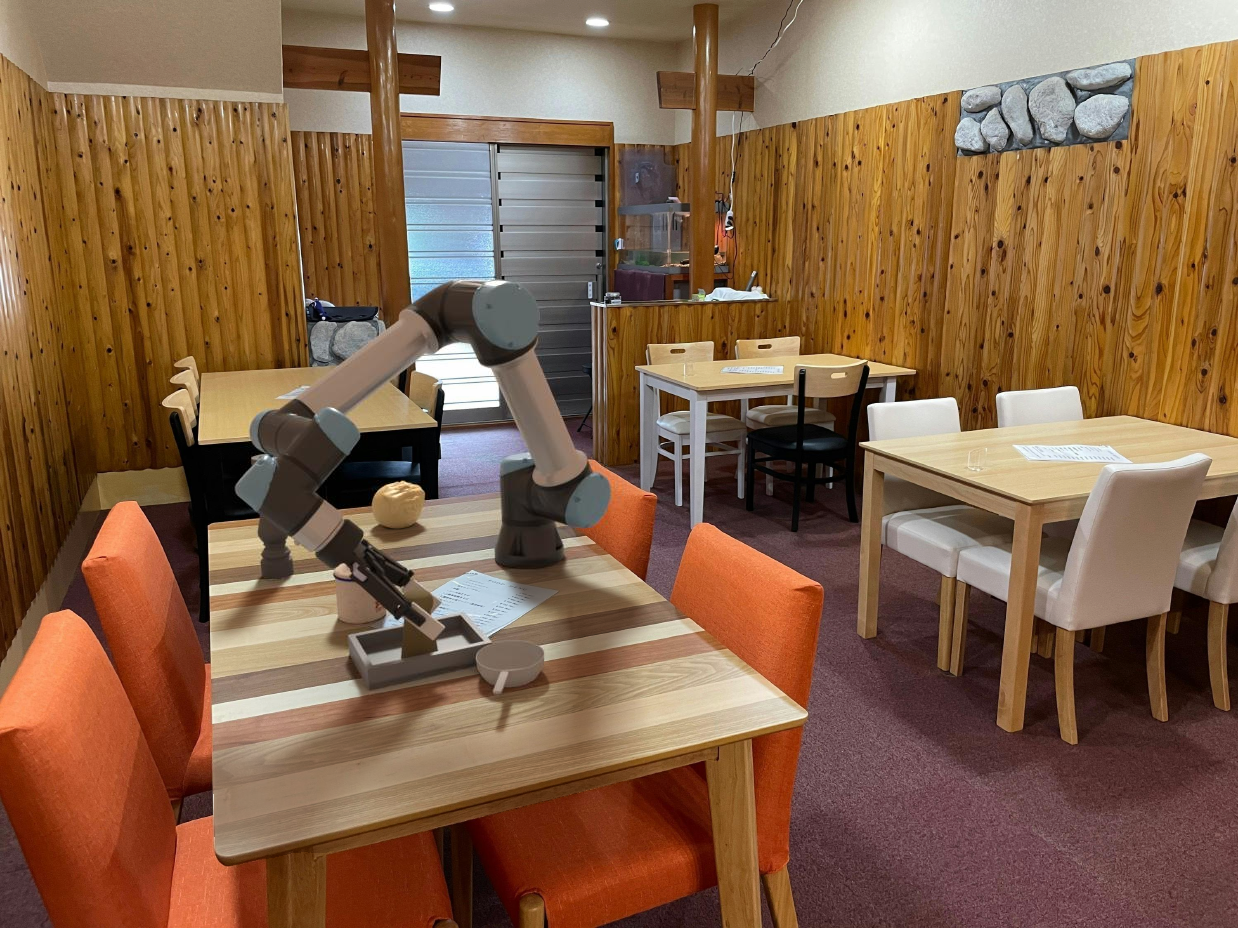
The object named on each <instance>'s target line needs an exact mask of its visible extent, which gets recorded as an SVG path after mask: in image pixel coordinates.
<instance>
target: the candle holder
mask: <svg viewBox="0 0 1238 928" xmlns="http://www.w3.org/2000/svg"><path fill="white" fill-rule="evenodd" d="M263 455H268V454H266V453H264V454H262V453H261V454H258V455H255V456H251V459H250V460H251V467H252V466H253V465H254V464H255V463H256V462H257V461H258V460H259V458H261V457H262V456H263ZM268 456H270V455H268ZM270 457H271V458H275V459H277V458H278V457H272V456H270ZM257 536H258V538H259V540H261V542H262V543H263V546H264V547H263V549H262V551H261V554H260V555H261V556H260V557H262V558H261V560H260V561H259V562H260V571H261V577H262V578H263V579H264V578H265V579H264V580H268V579H277V580H282V578H283V579H287V578H289V576H290V577H291V576H293V575H294V572H295V571H294V560H293V559H294V558H293V556H292V555H291V551H292V550H291V549H290V548H289V547H288V546H287V545H286V544H287V539H288V537H289V536H288V535H287V534H286V533H284V532H283V531H282V530H280V529H279V528H278V527H276V526H275V525H274V524H272V523H271V522H270V521H268V520H267V519H266V518H264V517H263V516H262V515H260V514H259V519H258V526H257ZM286 577H287V578H286Z"/></svg>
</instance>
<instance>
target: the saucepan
mask: <svg viewBox="0 0 1238 928" xmlns="http://www.w3.org/2000/svg"><path fill="white" fill-rule="evenodd" d="M476 663H477V666H476V667H477V671H478V672H479V674H480V675H481V677H482V678H483V679H484V680H485V682H487V683H488V684H489V685H492V686H494V688H493V690H492V693H493V694H494V695H500V694H502V693H503V690H504V688H515V687H517V688H518V687H521V686H524V685H528V684H529V682H530V683H531V681H532V682H533V681H535V680H536V679H537V678H538V676H539V674H540V673H541V671H542V669H543V667H544V663H545V650H544V649H543V647H542V646H540V645H538V644H536V643H534V642H531V641H527V640H520V639H519V640H518V639H516V640H515V639H511V640H509V639H508V640H503V641H502V640H501V641H496V642H492V644H490V645H487V646H485V647H483V648H482V649H480V650H479V651H478V653H477V654H476ZM527 683H528V684H527Z"/></svg>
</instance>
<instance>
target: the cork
mask: <svg viewBox="0 0 1238 928" xmlns="http://www.w3.org/2000/svg"><path fill="white" fill-rule="evenodd" d="M430 592H431V591H430ZM430 592H429V590H428V591H426V590H423V589H415V590H410V591H408V592H406V593H402V594H403V595H404V596H405V597H406V598H407V599H408V600H409V601H410V602H411V604H412V603H413V602H414V603H416V604H417V605H418V606H419V607H421V608H422V609H423V610H425V611H426V612H427V613H428V614H430V615H431V616H432V614H431V609H432V607H433V596H432V595H431V593H432V592H431V593H430ZM403 624H404V626H403V638H402V651H401V659H404V658H409V657H414V656H418V655H423V654H427V653H432V652H437V651H438V647H437V642H436V638H435V639H434V640H432V639H430V638H429V637H428V636H427V635H425V634H424V633H423V632H421V631H420V630H419V629H417V628H416V627H415V626H414V625H412V624H411V623H410V622H408V621H407V620H406V619H404V618H403Z"/></svg>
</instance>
